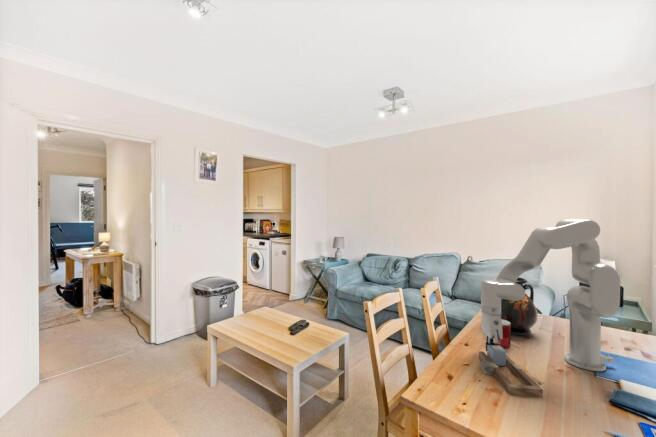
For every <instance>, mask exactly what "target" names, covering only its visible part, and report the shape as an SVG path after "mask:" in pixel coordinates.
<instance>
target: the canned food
mask: <svg viewBox="0 0 656 437" xmlns="http://www.w3.org/2000/svg"><path fill="white" fill-rule="evenodd" d="M501 321H502V334H503V338H502V340H501V339H499V338H498V343H496V345H498V346H501V347H502V348H503V349H508V348H511V342H512V341H511V340H512V339H511V337H512V335H511V324H510V322H509V321H506V320H503V319H501Z"/></svg>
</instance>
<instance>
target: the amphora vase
mask: <svg viewBox="0 0 656 437" xmlns="http://www.w3.org/2000/svg"><path fill="white" fill-rule="evenodd" d="M515 283H517V284H519V285H521V286H522V287H523V288H524V290H525V289H526V288H527V287H528V288H529V292H530V294H529V295H528V294H527V293H526V292H525V296H524V297H523V298H522V299H521V300H518V301H512V300H506V299H501V315H500V316H501V319H503V320H506V321H509V322H510V324H511V337H512V336H514V337H521V338H523V337H529V336H531V334H532V329H531V328H533V327H534V325H536V324H537V321H538V311H537V307H536V306H535V303H534V294H535V291H534V288H533V286H532V285H531V284H527V283H528V280H527V279H525V278H522V277H520V276H519V277H518V279H517V280H516V282H515Z"/></svg>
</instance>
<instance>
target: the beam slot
mask: <svg viewBox="0 0 656 437" xmlns="http://www.w3.org/2000/svg"><path fill="white" fill-rule="evenodd" d="M478 358H479V359H480V370H481V371H482V372H483V373H484V375H490V376H494V377H495V378H496V379H497V381H498V382H499V383H500V384H501V386H502V387H503V388H504V390H506V391H507V393H509V395H513V396H515V395H516V396H528V397H540V398H541V397H543V395H544V394H543V392H544V389H543V388H542V387H541V386H540V385H539V384H537V383H536V382H535V381H534V380H533V379H532V377H531V376H529V375H528V374H527V373H526V372H525V371H524V370H523V368H522V367H521V366H520V365H518V364H516V362H514V361H513V359H511V358H510V357H509V355H507V354H506V367H508V368H509V370H510V371H511V372H513V374H515V375H516V378H519V380H520V381H521V382H522V383H523V384H513V382H511V380H510V379H509V378H508V377H507V376H506V375H505V374H504V372H502V371H501V369H500V367H499V366H497V365H496V364H495V363H493V362H492V361H491V360H490V358H489V357H488V356H487V353H485V352H484V351H481V350H479V351H478Z"/></svg>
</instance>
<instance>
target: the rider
mask: <svg viewBox="0 0 656 437" xmlns="http://www.w3.org/2000/svg"><path fill="white" fill-rule="evenodd" d="M486 355H487V356H488V357H489V358H490V360H491V361H492V362H493V363H495V364H496V365H497V366H498V367H499V366H500V367H507V365H506V355H507V351H506V350H505V348H502V347H501V346H498V345H487V351H486Z"/></svg>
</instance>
